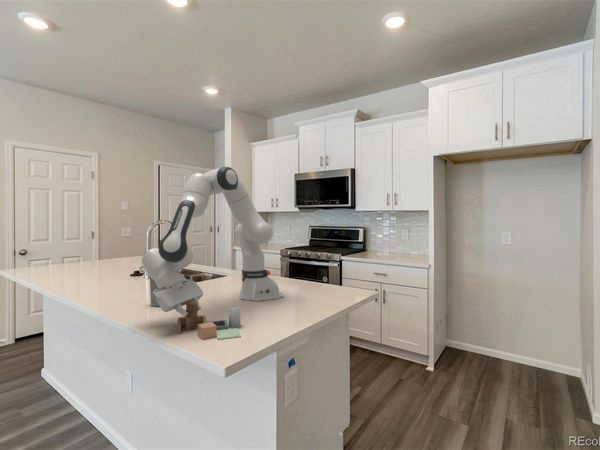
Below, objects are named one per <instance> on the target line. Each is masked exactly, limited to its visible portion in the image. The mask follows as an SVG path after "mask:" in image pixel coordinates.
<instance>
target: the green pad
mask: <svg viewBox="0 0 600 450" xmlns="http://www.w3.org/2000/svg"><path fill="white" fill-rule="evenodd" d="M236 337H237V338H241V337H242V335H241V333H240V331H239V327H238V328H229V329H224V330H217V337H216V339H217V340H218V341H219V340H226V339H228V338H229V339H236Z"/></svg>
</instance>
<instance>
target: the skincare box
mask: <svg viewBox="0 0 600 450" xmlns="http://www.w3.org/2000/svg"><path fill="white" fill-rule="evenodd" d="M155 289H159V288H158V287H157V285H156V282H155V281H154V280H153V279H152V278H151V277H150V276H149V292H150V293H149V294H150V295H149V296H150V306H151V307H160V306H159V304H158V302H157V300H156V297H155V296H154V290H155Z"/></svg>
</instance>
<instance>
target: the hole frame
mask: <svg viewBox="0 0 600 450" xmlns="http://www.w3.org/2000/svg"><path fill="white" fill-rule="evenodd" d="M208 322H213V323H214V324H215V325H216V326H217V330H224V329H230V327H229V322H228V321H227V319H222V320H212V321H206V323H208Z"/></svg>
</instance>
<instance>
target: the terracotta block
mask: <svg viewBox="0 0 600 450" xmlns="http://www.w3.org/2000/svg"><path fill="white" fill-rule="evenodd" d="M207 322H208V323H201V324H198V329H197V335H198V337H199V338H200V339H201V340H206V339H212V338H217V326H216V325H215V324H214V323H213V322H210V321H207Z"/></svg>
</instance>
